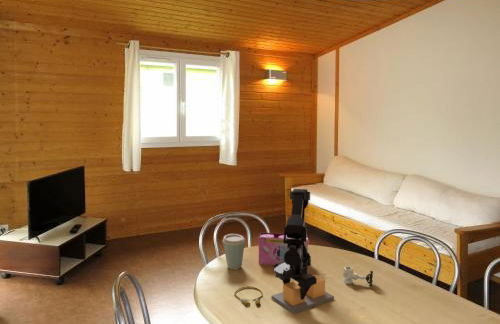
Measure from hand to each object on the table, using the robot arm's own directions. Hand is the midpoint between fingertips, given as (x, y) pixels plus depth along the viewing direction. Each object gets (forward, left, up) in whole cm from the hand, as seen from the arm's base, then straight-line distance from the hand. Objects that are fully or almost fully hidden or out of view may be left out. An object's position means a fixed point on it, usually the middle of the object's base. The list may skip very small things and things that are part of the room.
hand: (294, 294), depth 151 cm
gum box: (-35, +21, -4) cm, 41 cm away
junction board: (-1, +5, -3) cm, 6 cm away
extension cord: (-14, -12, -4) cm, 19 cm away
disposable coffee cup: (-43, -1, -4) cm, 43 cm away
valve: (+2, +33, -4) cm, 33 cm away
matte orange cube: (0, 0, -2) cm, 2 cm away
